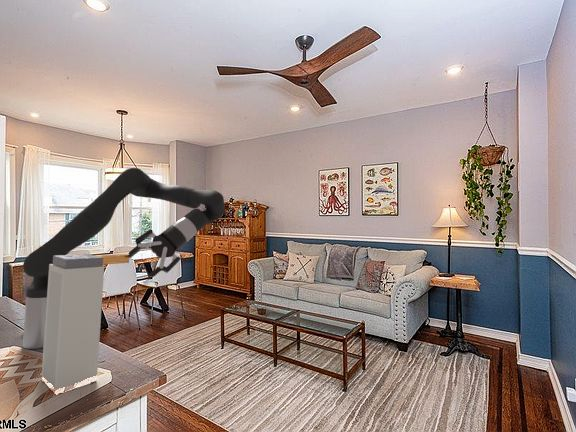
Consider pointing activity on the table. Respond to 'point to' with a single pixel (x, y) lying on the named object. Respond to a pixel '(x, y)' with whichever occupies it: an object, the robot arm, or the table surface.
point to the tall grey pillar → (72, 325)
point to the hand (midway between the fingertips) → (138, 266)
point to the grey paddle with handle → (88, 260)
